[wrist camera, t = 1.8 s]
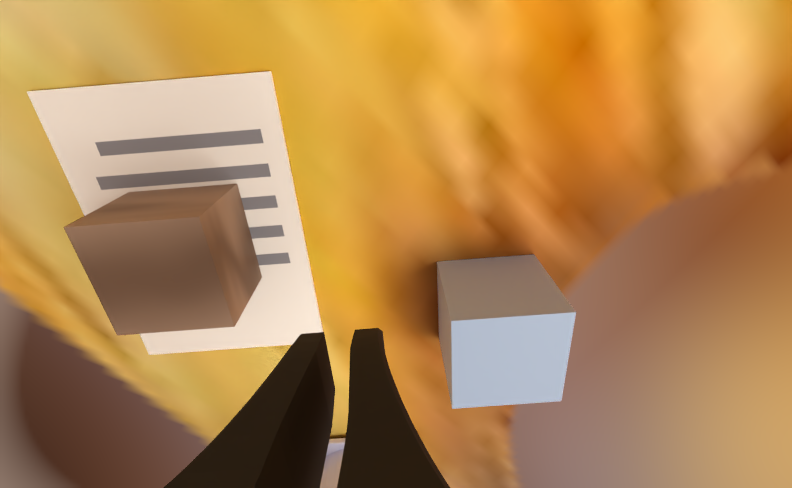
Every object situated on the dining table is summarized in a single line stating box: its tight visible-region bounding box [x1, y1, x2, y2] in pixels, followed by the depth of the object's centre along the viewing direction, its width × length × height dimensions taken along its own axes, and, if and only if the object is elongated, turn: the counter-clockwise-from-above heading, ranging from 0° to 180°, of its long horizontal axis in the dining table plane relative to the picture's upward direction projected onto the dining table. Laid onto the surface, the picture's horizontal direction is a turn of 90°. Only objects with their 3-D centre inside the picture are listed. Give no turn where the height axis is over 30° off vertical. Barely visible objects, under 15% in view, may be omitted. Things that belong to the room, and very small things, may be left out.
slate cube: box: [437, 254, 576, 409], centre depth 19 cm, size 5×5×5 cm
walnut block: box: [64, 184, 262, 335], centre depth 17 cm, size 5×5×4 cm
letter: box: [27, 71, 323, 355], centre depth 19 cm, size 14×10×1 cm
